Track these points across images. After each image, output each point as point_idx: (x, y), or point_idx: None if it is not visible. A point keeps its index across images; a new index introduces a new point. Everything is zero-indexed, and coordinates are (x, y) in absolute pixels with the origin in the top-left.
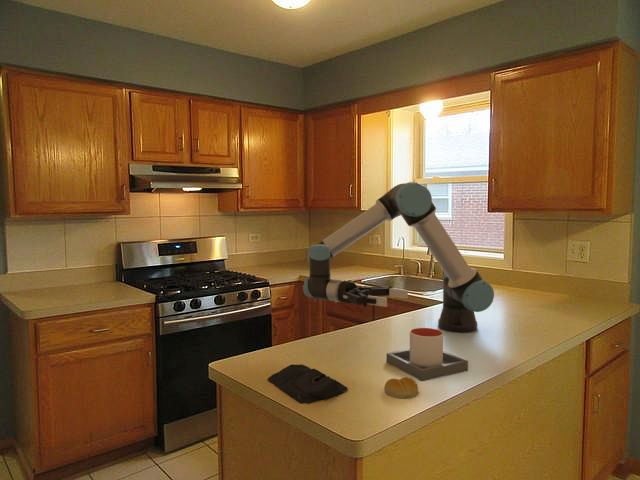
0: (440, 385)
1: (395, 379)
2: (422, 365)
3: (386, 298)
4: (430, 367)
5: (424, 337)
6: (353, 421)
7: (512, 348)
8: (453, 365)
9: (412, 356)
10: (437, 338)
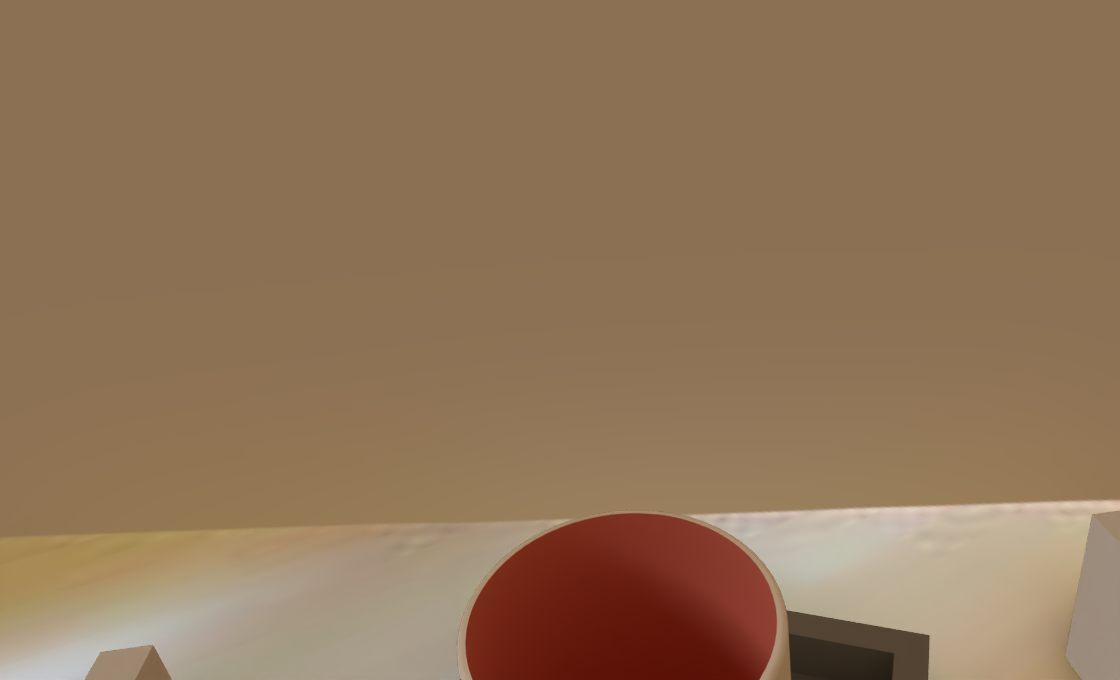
0: (867, 594)
1: None
2: None
3: (1111, 521)
4: (820, 636)
5: (758, 561)
6: None
7: (5, 633)
8: None
9: None
10: (665, 524)
